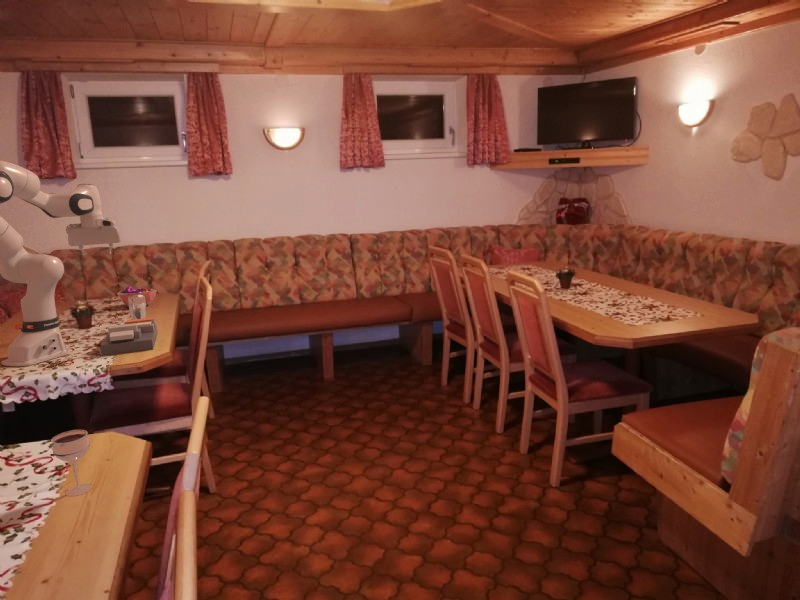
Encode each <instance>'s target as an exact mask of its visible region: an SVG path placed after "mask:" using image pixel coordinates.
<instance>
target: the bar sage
mask: <svg viewBox="0 0 800 600" xmlns="http://www.w3.org/2000/svg"><path fill="white" fill-rule="evenodd" d="M107 330H108V332H109V335H110V333H112V332H120V331H129V330H133V332H137V331H138V327H137V323H134V324H125V325H124V324H119V325H117V324H116V325H109V326H108V327H107ZM108 332H107V333H108Z"/></svg>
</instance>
